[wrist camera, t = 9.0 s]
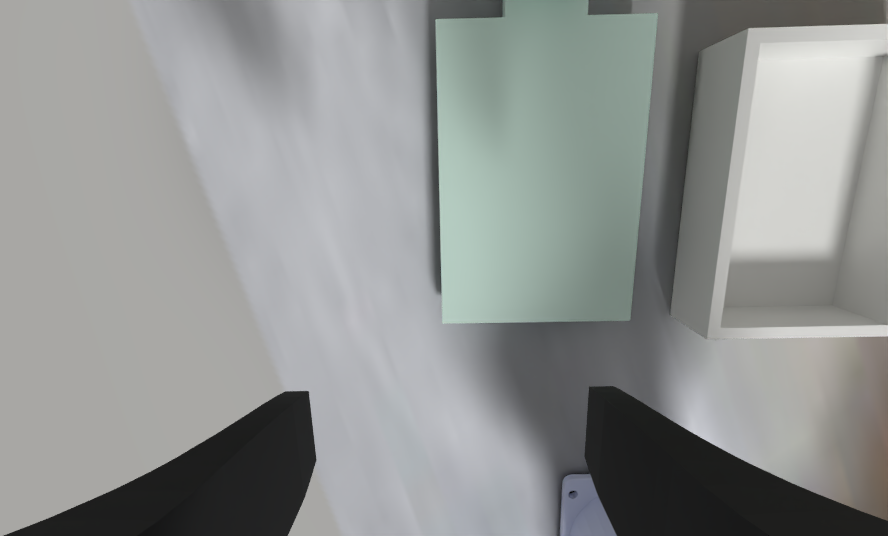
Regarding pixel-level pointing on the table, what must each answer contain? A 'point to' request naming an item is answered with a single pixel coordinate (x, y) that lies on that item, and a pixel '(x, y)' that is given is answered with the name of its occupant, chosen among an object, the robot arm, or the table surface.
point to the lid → (541, 161)
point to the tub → (787, 186)
